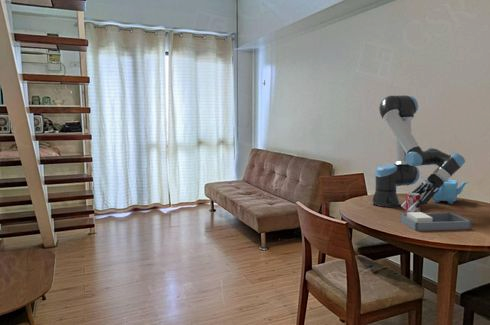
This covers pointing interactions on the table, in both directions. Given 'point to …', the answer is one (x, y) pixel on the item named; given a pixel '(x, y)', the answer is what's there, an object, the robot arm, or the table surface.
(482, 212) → the table surface
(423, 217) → the cream rectangular box
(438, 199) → the teakettle
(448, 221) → the tote
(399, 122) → the robot arm
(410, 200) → the soda can
